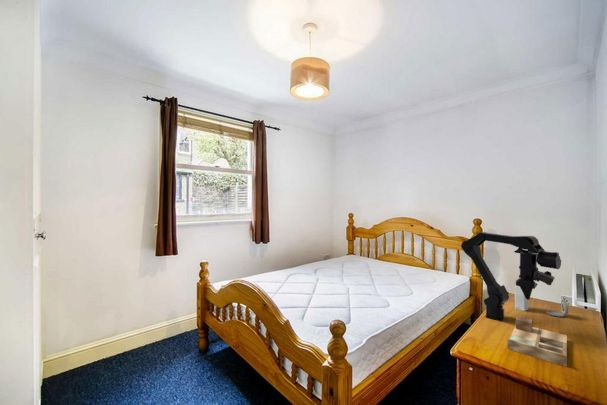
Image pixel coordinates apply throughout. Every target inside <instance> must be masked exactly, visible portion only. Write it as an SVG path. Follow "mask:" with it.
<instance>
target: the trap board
mask: <svg viewBox="0 0 607 405" xmlns="http://www.w3.org/2000/svg"><path fill="white" fill-rule="evenodd" d="M567 336H568V335H566V334H562V333H560V332H559V333H557V332H553V331H549V330H546V329H543V328H542V329H541V328H538V327H534V326H532V332H531V333H530V332H526V331H522V330H518V329H516V324H515V325H514V328H513V330H512V332H511V334H510V337H509V338H507V350H509V351H514V352H517V353H521V354H524V355H527V356H530V357H533V358H536V359H540V360H543V361H546V362H550V363H553V364H556V365H561V366H562V367H563V366H564V367H567V366H568V363H567V362H568V359H567V358H568V357H567V356H568V355H567V354H568V353H567V352H568V351H567V350H568V348H567V347H568V346H567V345H568V342H567V341H568V338H567ZM567 368H568V367H567Z"/></svg>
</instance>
